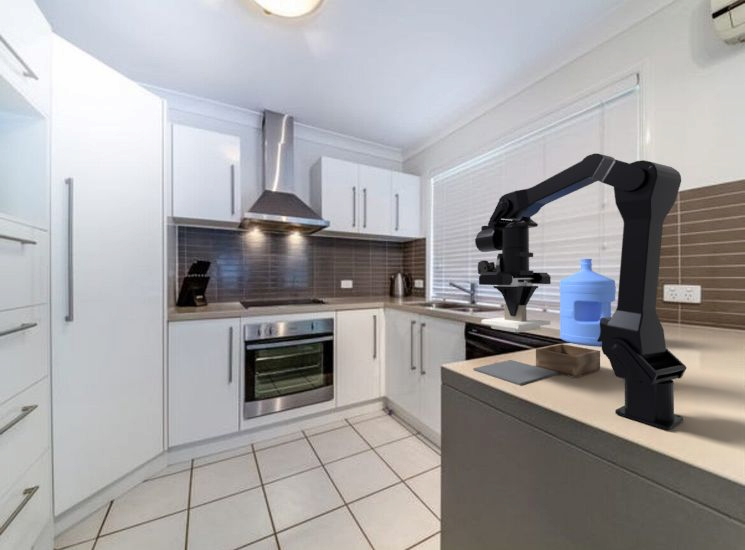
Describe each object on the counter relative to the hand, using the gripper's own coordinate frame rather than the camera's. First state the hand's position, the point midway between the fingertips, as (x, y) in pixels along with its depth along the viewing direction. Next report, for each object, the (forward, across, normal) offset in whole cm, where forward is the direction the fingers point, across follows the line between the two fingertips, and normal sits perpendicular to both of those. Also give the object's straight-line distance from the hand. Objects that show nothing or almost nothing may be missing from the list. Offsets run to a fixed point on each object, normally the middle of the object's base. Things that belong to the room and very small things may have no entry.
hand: (515, 315), depth 71 cm
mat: (+13, 0, 0) cm, 13 cm away
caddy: (+13, -13, +5) cm, 19 cm away
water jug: (+13, -50, -9) cm, 53 cm away
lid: (+3, 0, 0) cm, 3 cm away
